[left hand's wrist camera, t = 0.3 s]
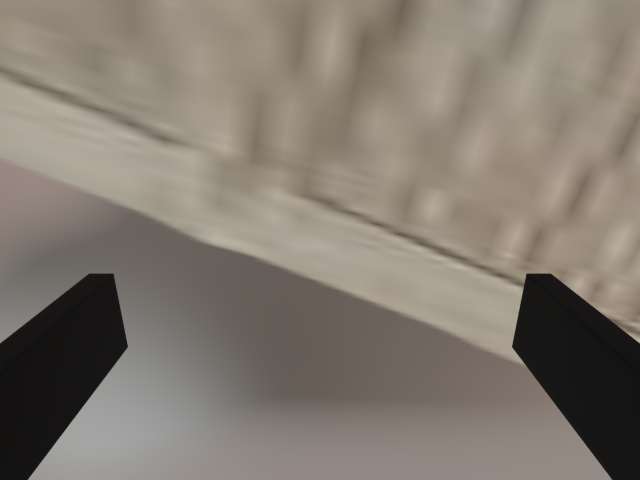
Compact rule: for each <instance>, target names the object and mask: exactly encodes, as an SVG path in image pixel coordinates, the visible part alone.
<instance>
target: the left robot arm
mask: <svg viewBox="0 0 640 480" xmlns="http://www.w3.org/2000/svg"><path fill="white" fill-rule="evenodd" d="M127 348H128V345H127V340H126V335H125V330H124V325H123V320H122V315H121V310H120V305H119V300H118V294H117V289H116V285H115V279H114V274H88V275H87V276H86V277H84V278H83V279H82V280H81V281H79V282H78V283H77V284H76V285H74V286H73V287H72V288H70V289H69V290H68V291H67V292H65V293H64V294H63V295H61V296H60V297H59V298H58V299H56V300H55V301H54V302H53V303H51V304H50V305H49V306H47V307H46V308H45V309H44V310H42V311H41V312H40V313H39V314H37V315H36V316H35V317H33V318H32V319H31V320H30V321H28V322H27V323H26V324H24V325H23V326H22V327H21V328H19V329H18V330H17V331H16V332H14V333H13V334H12V335H11V336H9V337H8V338H7V339H5V340H4V341H3V342H2V343H0V480H28V479H29V477H30V476H31V475H32V473H33V472H34V471H35V469H36V468H37V467H38V465H39V464H40V463H41V461H42V460H43V459H44V457H45V456H46V455H47V453H48V452H49V451H50V449H51V448H52V447H53V446H54V444H55V443H56V441H57V440H58V439H59V438H60V436H61V435H62V433H63V432H64V431H65V430H66V428H67V427H68V426H69V424H70V423H71V422H72V420H73V419H74V418H75V416H76V415H77V414H78V412H79V411H80V410H81V408H82V407H83V406H84V404H85V403H86V402H87V401H88V399H89V398H90V397H91V395H92V394H93V393H94V391H95V390H96V388H97V387H98V386H99V385H100V383H101V382H102V381H103V379H104V378H105V377H106V375H107V374H108V373H109V371H110V370H111V369H112V367H113V366H114V365H115V363H116V362H117V361H118V359H119V358H120V357H121V355H122V354H123V353H124V351H125V350H126V349H127ZM512 348H513V349H514V350H515V352H516V353H517V354H518V355H519V357H520V358H521V359H522V361H523V362H524V363H525V365H526V366H527V367H528V369H529V370H530V371H531V373H532V374H533V375H534V377H535V378H536V379H537V381H538V382H539V383H540V385H541V386H542V387H543V389H544V390H545V391H546V393H547V394H548V395H549V397H550V398H551V399H552V401H553V402H554V403H555V404H556V406H557V407H558V408H559V410H560V411H561V412H562V414H563V415H564V416H565V418H566V419H567V420H568V422H569V423H570V424H571V426H572V427H573V428H574V430H575V431H576V432H577V434H578V435H579V436H580V438H581V439H582V440H583V442H584V443H585V444H586V446H587V447H588V448H589V449H590V451H591V452H592V453H593V455H594V456H595V457H596V459H597V460H598V461H599V463H600V464H601V465H602V467H603V468H604V469H605V471H606V472H607V473H608V475H609V476H610V477H611V479H612V480H640V343H638V342H637V341H636V340H635V339H633V338H632V337H631V336H630V335H628V334H627V333H626V332H624V331H623V330H622V329H621V328H619V327H618V326H617V325H616V324H614V323H613V322H612V321H610V320H609V319H608V318H607V317H605V316H604V315H603V314H601V313H600V312H599V311H598V310H596V309H595V308H594V307H593V306H591V305H590V304H589V303H587V302H586V301H585V300H584V299H582V298H581V297H580V296H579V295H577V294H576V293H575V292H573V291H572V290H571V289H570V288H568V287H567V286H566V285H565V284H563V283H562V282H561V281H559V280H558V279H557V278H556V277H554V276H553V275H552V274H526V279H525V284H524V289H523V294H522V299H521V304H520V310H519V315H518V320H517V325H516V330H515V335H514V340H513V345H512Z"/></svg>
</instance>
